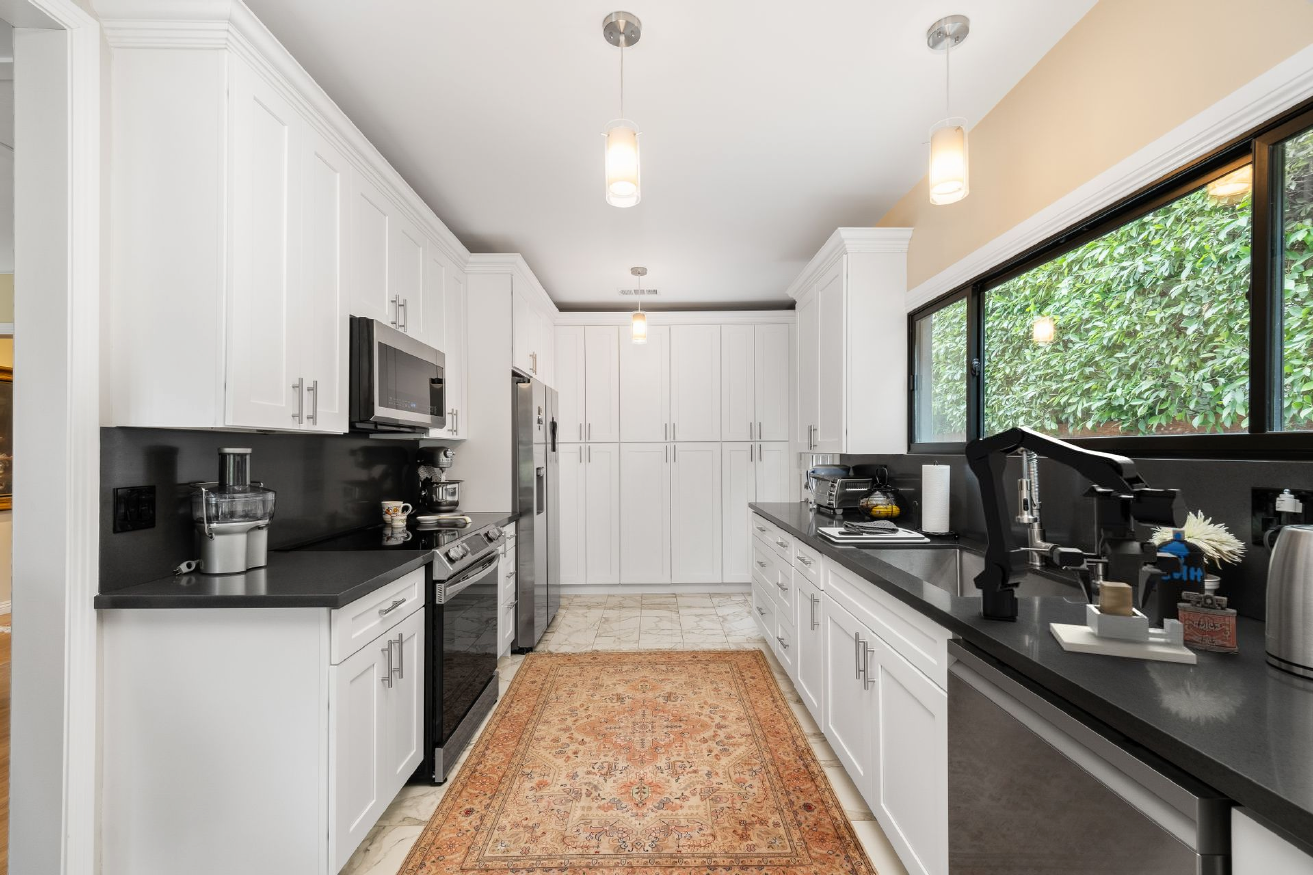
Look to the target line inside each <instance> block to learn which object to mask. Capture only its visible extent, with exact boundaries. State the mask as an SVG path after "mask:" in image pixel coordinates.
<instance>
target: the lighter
mask: <svg viewBox="0 0 1313 875" xmlns="http://www.w3.org/2000/svg"><path fill="white" fill-rule="evenodd" d="M1182 598H1183V599H1189V600H1192V601H1191V604H1188V603H1178V608H1179V622H1181V623H1182V624H1183V646H1184V647H1189V648H1194V649H1199V650H1200V649H1201V650H1205V649H1207V650H1206V651H1211V652H1212V651H1213V652H1220V653H1225V652H1230V653H1229V654H1235V653H1234V652H1239V650H1238V647H1237V633H1236V632H1237V631H1236V629H1237V628H1236V616H1237V610H1236V609H1232V608H1227V604H1228V598H1227V597H1226V596H1225V597H1223V596H1217V595H1215V596H1214V594H1212V593H1209V592H1205V594H1204V595H1200V594H1199V593H1192V592H1183V593H1182ZM1196 600H1197V601H1202V602H1201V603H1200V605H1198V604H1197V601H1196ZM1218 604H1219V605H1218ZM1231 652H1232V653H1231Z"/></svg>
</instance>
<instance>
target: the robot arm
mask: <svg viewBox="0 0 1313 875" xmlns="http://www.w3.org/2000/svg"><path fill="white" fill-rule="evenodd" d="M1020 449H1024V450H1027V451H1030V452H1032V453H1035V454H1037V455H1040V456H1042V457H1044V458H1047V459H1049V460H1052V461H1054V462H1057V463H1060V464H1062V465H1065V466H1068V467H1070V468H1071V469H1073V470H1074V471H1075V472H1077V473H1078V474H1079V475H1080V476H1081V477H1082V478H1084V479H1086V480H1088V481H1089V482H1092V483H1093V484H1094V485H1090V487H1089V488H1088V489H1087V490H1085V491H1084V492H1083V493H1081V497H1082V498H1090V499H1094V523H1095V524H1094V527H1093V528H1094V534H1095V538H1094V539H1095V547H1094V553H1090V552H1089V553H1088V552H1087V553H1086V552H1083V551H1081V550H1080V549H1078V548H1070V547H1056V548H1055V549H1054V550H1053V555H1052V556H1053V557H1052V558H1053V562H1054V563H1055V564H1057V565H1058V566H1060V567H1066V568H1067V569H1068V570H1070V571H1071V572H1073V573H1074V575H1075V576H1076V578H1077V579H1078V582H1079V584H1080V587H1081V589H1082V590H1083V593H1084V595H1085V598H1086V601H1087V603H1088V604H1089V605H1093V590H1092V584H1091V577H1090V575H1091V569H1089V568H1088V567H1087V566H1088V564H1098V565H1109V566H1110V567H1111V568H1114V569H1134V570H1135V571H1136V570H1137V571H1138V603H1139V604H1138V605H1139V608H1141V609H1145V607H1146V605H1147V603H1148V601H1149V598H1150V596H1151V594H1152V591H1153V590H1154V588H1155V587H1156V583H1157V582H1158V581H1159V580H1160V579H1161V578H1162V577H1169V574H1168V573H1183V563H1182V560H1181V559H1180V558H1178V557H1177V556H1174V555H1172V554H1170V553H1157V544H1156V543H1155V542H1154V541H1147V540H1146V541H1143V540H1141V541H1140V542H1138V541H1137V538H1136V531H1135V530H1134V521H1137V522H1138V524H1139V525H1141V526H1146V527H1147V526H1148V527H1158V528H1159V527H1160V528H1169V529H1182V530H1183V529H1184V527H1185V526H1186V525H1187V523H1188V522H1187V521H1188V516H1189V509H1188V507H1187V505H1186V501H1185V499H1184V498H1183V496H1182V491H1181V489H1172V488H1170V489H1169V488H1168V489H1153V488H1151V486H1150V485H1149V484H1148V483H1147V481H1145V480H1144V478H1142V476H1141V475H1140V474H1139V473H1138V469H1137V467H1136V466H1137V465H1136V464H1135V462H1134V461H1133V460H1132V459H1130V458H1129V457H1125V456H1123V455H1116V454H1113V453H1106V452H1101V451H1094V450H1088V449H1084V448H1081V447H1079V446H1077V445H1073V444H1070V443H1069V442H1065V441H1064V440H1063V441H1062V440H1060V439H1057V438H1055V437H1051V436H1049V435H1046V434H1044V433H1041V432H1038V431H1035V430H1033V429H1031V427H1027V426H1013V427H1011V428H1009V429H1007V430H1005V431H1002V432H999V433H995V434H993V435H990V436H986V437H985V438H975V439H972V440H970V441H969V442H968V443H967V444H966V445H965V447H964V455H965V458H966V462H967V465H968V467H969V469H970V471H971V472H972V473H973V475H974V476H975V478H976V479H977V482H978V488H979V494H980V500H981V504H982V512H983V517H984V522H985V528H986V529H985V530H986V535H987V541H988V542H987V543H988V544H987V547H986V549H985V550H986V551H985V554H984V558H983V560H984V561H983V565H984V569H983V570H982V571H981V572H980V573H978V575H976V576H974V578H973V579H972V580H973V583H974V586H975V589H976V590H980V604H981V605H980V606H981V607H980V609H979V611H980V612H979V613H980V614H981V616H982V618H983V619H989V620H1001V621H1011V622H1016V621H1017V620H1018V619H1017V618H1018V617H1019V599H1018V596H1017V595H1015V593H1016V591H1015V589H1019V588H1020V585H1021V583H1022V581H1024V580H1025V579H1026V577H1028V573H1029V571H1028V569H1031V565H1030V564H1029V561H1028V553H1027V552H1028V551H1027V549H1025V548H1022V549H1020V548H1019V547H1018V545H1017V544H1016V543H1015V540H1014V537H1013V531H1012V526H1011V519H1010V513H1009V510H1008V502H1007V498H1006V496H1007V495H1006V491H1005V484H1004V480H1003V476H1004V472H1005V471H1006V470H1005V469H1006V467H1007V456H1008V455H1011V454H1013V453H1016V452H1017V451H1018V450H1019V451H1020ZM1103 488H1110V489H1103ZM1125 494H1126V495H1125ZM1130 494H1131V495H1130ZM1166 572H1167V573H1166Z"/></svg>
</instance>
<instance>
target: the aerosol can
mask: <svg viewBox="0 0 1313 875" xmlns="http://www.w3.org/2000/svg"><path fill="white" fill-rule="evenodd" d="M1171 531H1172V533H1171V534H1172V538H1171V539H1170V540H1169V539H1167V540H1164V541H1161V542H1160V543H1158V544H1156V546H1157V553H1170V554H1172V555H1174V556H1177V557H1178V558H1180V559H1181V560H1182V563H1183V573H1168V574H1169V577H1162V578H1161V579H1160V580H1159V581H1158V582H1157V583H1156V584H1155V589H1156V590H1155V591H1156V620H1155V623H1156V624H1157V625H1159V626H1160V627H1161V626H1162V627H1164V619H1176V620H1178V621H1179V608H1178V603H1188V604H1191V601H1192V600H1189V599H1183V598H1182V593H1183V592H1192V593H1199V594H1200V595H1204V594H1205V593H1206V580H1205V579H1206V573H1205V568H1206V567H1205V555H1206V553H1207V552H1206V551H1205V550H1203V548H1201V547H1200V545H1198V544H1196V543H1194V542H1190V541H1188V540H1187V539H1186V530H1185V529H1183V528H1182V529H1178V528H1172V530H1171ZM1166 573H1167V572H1166ZM1196 601H1197V600H1196ZM1201 602H1202V601H1197V604H1198V605H1200V603H1201Z"/></svg>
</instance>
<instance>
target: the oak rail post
mask: <svg viewBox="0 0 1313 875" xmlns="http://www.w3.org/2000/svg"><path fill="white" fill-rule="evenodd" d="M1098 584H1099V585H1098V586H1099V605H1100V613H1101V614H1113V615H1125V616H1133V608H1134V607H1133V587H1132V586H1130V585H1129V584H1127V583H1125V582H1117V581H1116V582H1115V581H1114V582H1113V581H1099V583H1098Z"/></svg>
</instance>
